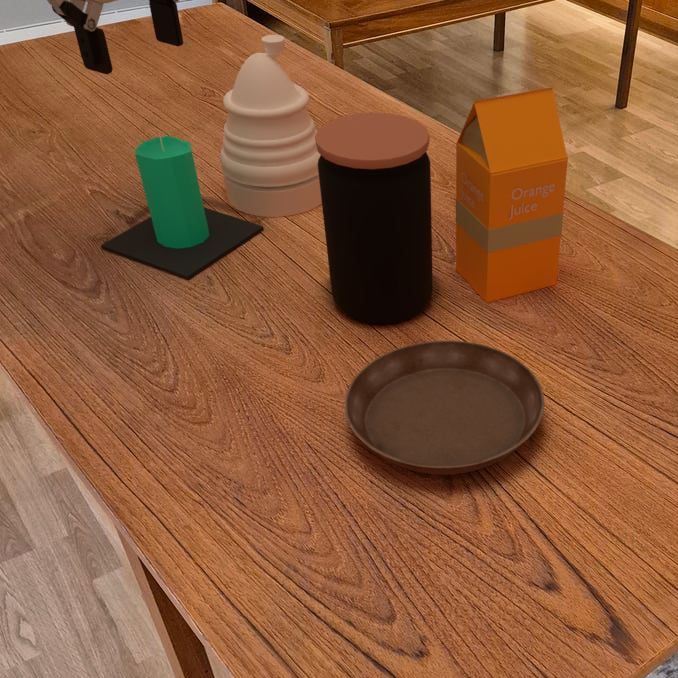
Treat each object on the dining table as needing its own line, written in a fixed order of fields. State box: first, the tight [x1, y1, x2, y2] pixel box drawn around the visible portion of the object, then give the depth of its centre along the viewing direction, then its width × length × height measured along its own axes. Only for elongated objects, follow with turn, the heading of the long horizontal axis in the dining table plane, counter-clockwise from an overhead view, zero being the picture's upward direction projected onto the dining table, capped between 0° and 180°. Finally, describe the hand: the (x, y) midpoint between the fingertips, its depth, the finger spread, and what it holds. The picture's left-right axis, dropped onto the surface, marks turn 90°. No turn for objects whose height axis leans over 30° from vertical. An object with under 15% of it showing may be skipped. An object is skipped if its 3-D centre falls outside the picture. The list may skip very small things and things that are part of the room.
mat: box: [100, 206, 265, 281], centre depth 103 cm, size 13×13×1 cm
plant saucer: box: [344, 340, 545, 476], centre depth 80 cm, size 18×18×3 cm
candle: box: [134, 132, 209, 249], centre depth 99 cm, size 6×6×12 cm
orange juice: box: [455, 87, 569, 304], centre depth 92 cm, size 8×9×20 cm
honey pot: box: [219, 34, 322, 218], centre depth 106 cm, size 13×13×18 cm
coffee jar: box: [315, 111, 434, 327], centre depth 89 cm, size 11×11×18 cm
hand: (135, 56), depth 89 cm, fingers open, 9 cm apart
